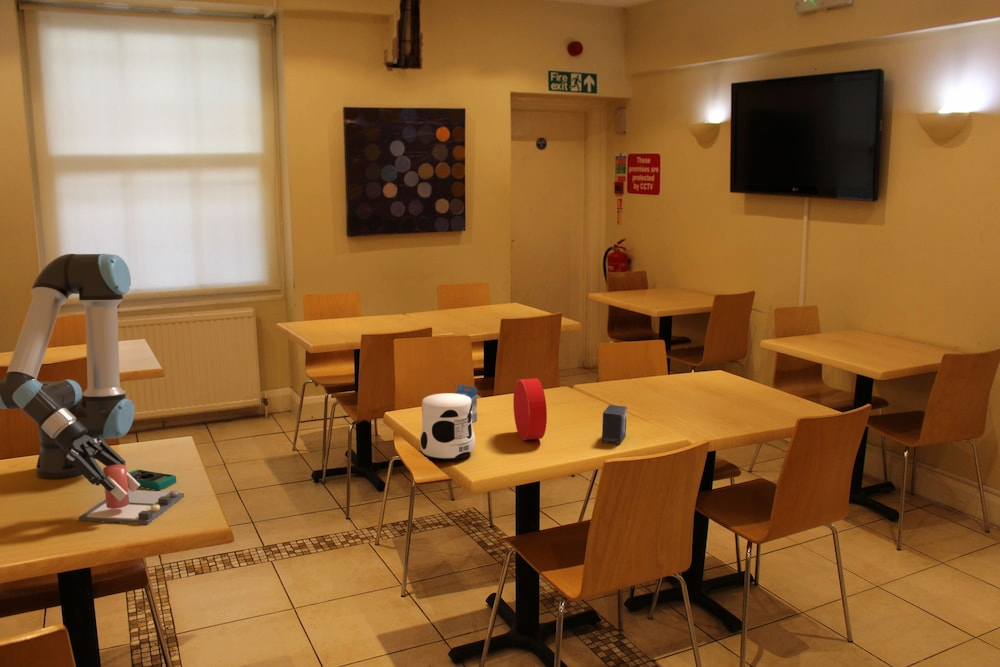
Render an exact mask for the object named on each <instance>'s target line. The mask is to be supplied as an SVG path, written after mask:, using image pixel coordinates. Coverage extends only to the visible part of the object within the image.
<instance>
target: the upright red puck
mask: <svg viewBox="0 0 1000 667" xmlns="http://www.w3.org/2000/svg"><path fill="white" fill-rule="evenodd" d="M513 389H514V390H513V399H512V400H513V415H514V423H515V427H516V432H517V434H518V437H519V438H520V440H522V441H528V440H529V441H530V440H541V439H543V438H544V436H545V434H546V429H547V423H548V422H547V420H548V415H547V414H548V413H547V409H548V408H547V403H546V402H547V401H546V394H545V391H544V387H543V385H542V382H541V381H540V379H539V378H525V379H518V380H516V382H515V384H514V388H513Z"/></svg>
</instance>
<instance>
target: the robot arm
mask: <svg viewBox="0 0 1000 667" xmlns="http://www.w3.org/2000/svg"><path fill="white" fill-rule="evenodd" d="M131 280H132V278H131V273H130V269H129V266H128V265H127V263H126V262H125V260H124V259H123V257H121V256H120V255H117V254H111V253H66V254H63V255H60V256H58V257H55V259H53V260H51V261H50V262H49V263H48V264H47V265H45V267H44V268H43V269H42V270H41V271H40V273H39V274H38V275H37V276H36V278H35V280H34V282H33V285H32V287H31V290H30V294H31V296H32V299H31V303H30V305H29V308H28V311H27V314H26V316H25V319H24V321H23V325H22V328H21V331H20V334H19V335H18V340H17V342H16V345H15V347H14V351H13V353H12V356H11V360H10V361H9V364H8V367H7V371H6V373H5V374H4V378H3V380H0V409H2V410H22V411H23V412H24V413H25V414H26V415H27V416H28V417H29V418H31V420H33V422H35V423H36V425H37V427H38V428H37V429H38V436H39V444H40V451H39V455H38V457H37V458H38V459H37V461H36V468H35V469H36V476H37V477H39V478H41V479H47V480H48V479H50V480H55V479H66V478H72V477H76V476H80V475H81V474H82V476H83V477H84V478H85V479H86V480H87V481H88V482H89V483H90V484H91V485H95V486H100V485H101V486H102V487H103V488H104V489H105V488H106V489H107V490H108V491H109V492H111V493H112V494H113V495H114V496H115V497H116V498H117V499H118V500H119V501H121V500H122V499H123V498H124V497H125V496H126V495H127V494H128V493H127V492H126V491H124V490H123V489H122V488H121V487H120V486H119V485H118V484H117V483H116V482H115V481H114V480H113V479H112V478H111V477H110V476H108V477H107V478H106V475H105V474H104V472H103V468H101V466H100V465H99V463H101V464H102V465H104V466H105V467H107V466H110V465H117V464H121V465H125V466H126V460H125V459H124V458H122V456H120V455H119V454H118V452H116V451H115V450H114V449H113V448H112V447H111V446H110V445H109V444H108V443H107V442H106V441H105V440H109V439H119V438H123V437H124V436H125V435H127V434H128V432H129V430H130V429H131V428H132V425H133V422H134V419H135V418H134V417H135V405H134V403H133V401H132V400H131V399H129V398H127V397H126V391H125V390H124V389H123V388H121V385H120V383H121V382H120V381H121V380H120V354H119V353H120V350H119V349H120V348H119V346H120V345H119V317H118V313H119V312H118V306H119V305H120V303H121V302H123V300H124V299H123V298H124V296H123V295H126V294H127V293H128V292H129V291H130V287H131V284H132V282H131ZM72 295H78V301H79V302H80V303H81V304H82V305H83V306H84V307H85V308H84V310H85V313H84V314H85V338H86V341H85V343H86V344H85V345H86V372H87V373H86V374H87V376H86V377H87V388H86V389H85V390H84V391H83V389H82V387H81V386H80V384H79V383H78V382H77V381H76V380H73V379H69V378H68V379H61V380H59V381H39V380H38V375H39V372H40V369H41V367H42V364H43V362H44V358H45V356H46V352H47V349H48V346H49V343H50V340H51V338H52V334H53V331H54V329H55V325H56V323H57V320H58V317H59V314H60V311H61V307H62V306H63V305H65V304H66V303H67V302H68V299H69V296H72ZM96 460H97V461H98V462H99V463H98V462H97V461H96ZM127 482H128V490H131V491H132V492H134V491H135V490H138V488H140V487H139V486H140V484H139V483H138V482H137V481H136V480H135V479H134V478H133V477H132V476H131V474H130V473H129V472H128V470H127Z"/></svg>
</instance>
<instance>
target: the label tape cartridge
mask: <svg viewBox="0 0 1000 667" xmlns="http://www.w3.org/2000/svg"><path fill="white" fill-rule="evenodd" d="M466 389H468V390H466ZM454 394H462V395H466V396H468V397H470V398H471V402H472V424H473V423H476V422H477V421H478V411H477V410H478V405H477V404H478V387H475V386H469V385H464V384H457V390H456V392H455V393H454Z"/></svg>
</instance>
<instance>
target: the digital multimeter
mask: <svg viewBox="0 0 1000 667" xmlns="http://www.w3.org/2000/svg"><path fill="white" fill-rule="evenodd" d="M129 473H130V474H131V476H132V477H133V478H134V479H135V480H136V481H137V482H138V483H139V484H140V486H139V487H138V488H141V487H143V488H142V489H146V488H149V489H148V490H151V489H154V490H153V491H157V490H160V491H162V490H164V488H165V489H167V488H168V486H169V487H171V486H173V485H174V484H176V483H177V476H176V475H175V474H170V473H169V474H168V473H163V472H154V471H148V470H144V469H135V470H132V471H130V472H129ZM172 484H173V485H172ZM170 485H171V486H170ZM166 487H167V488H166ZM161 489H162V490H161Z"/></svg>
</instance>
